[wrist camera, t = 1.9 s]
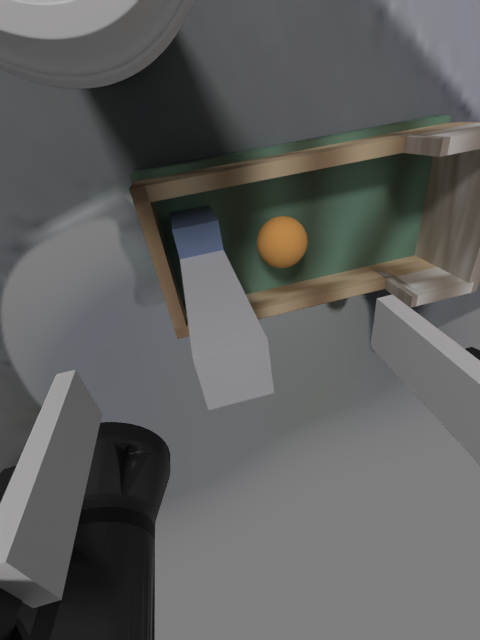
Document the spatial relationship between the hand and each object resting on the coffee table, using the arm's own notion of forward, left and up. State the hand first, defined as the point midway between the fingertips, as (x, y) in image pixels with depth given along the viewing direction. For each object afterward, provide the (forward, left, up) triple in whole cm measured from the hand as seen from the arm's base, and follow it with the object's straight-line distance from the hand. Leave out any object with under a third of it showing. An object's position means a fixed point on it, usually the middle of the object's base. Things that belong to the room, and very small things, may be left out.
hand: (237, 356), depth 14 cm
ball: (+6, 0, -12) cm, 14 cm away
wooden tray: (+9, 0, -16) cm, 18 cm away
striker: (0, 0, -14) cm, 14 cm away
